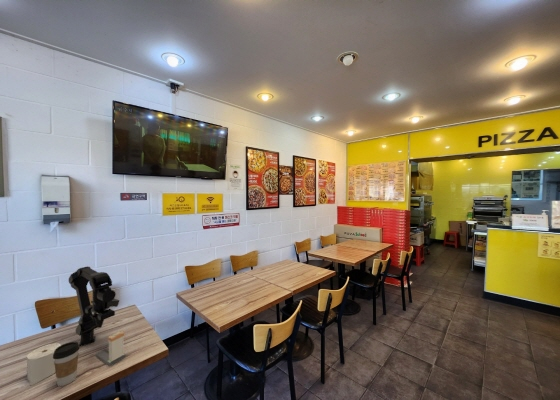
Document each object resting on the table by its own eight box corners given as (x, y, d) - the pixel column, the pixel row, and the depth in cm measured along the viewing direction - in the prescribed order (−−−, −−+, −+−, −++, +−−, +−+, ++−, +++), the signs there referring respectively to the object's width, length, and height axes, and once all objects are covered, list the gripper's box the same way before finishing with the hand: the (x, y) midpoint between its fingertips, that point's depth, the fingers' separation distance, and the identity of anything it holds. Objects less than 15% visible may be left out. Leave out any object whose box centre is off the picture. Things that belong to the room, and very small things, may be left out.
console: (95, 356, 110) (95, 353, 110) (111, 348, 116) (111, 345, 116) (109, 366, 103) (109, 363, 103) (125, 357, 109) (125, 354, 109)
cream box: (108, 359, 105) (108, 336, 105) (120, 352, 110) (120, 331, 110) (111, 361, 104) (111, 338, 104) (124, 354, 108) (123, 332, 108)
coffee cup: (63, 390, 90) (62, 354, 90) (47, 386, 92) (47, 351, 92) (84, 374, 99) (84, 341, 99) (70, 371, 100) (69, 339, 100)
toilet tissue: (59, 360, 108) (59, 340, 108) (63, 372, 100) (62, 350, 100) (26, 373, 99) (26, 352, 99) (27, 388, 92) (27, 364, 92)
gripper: (125, 295, 117) (126, 324, 117) (108, 289, 126) (109, 316, 126) (101, 304, 108) (101, 335, 107) (84, 296, 116) (84, 325, 116)
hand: (100, 327), depth 115 cm, fingers closed
